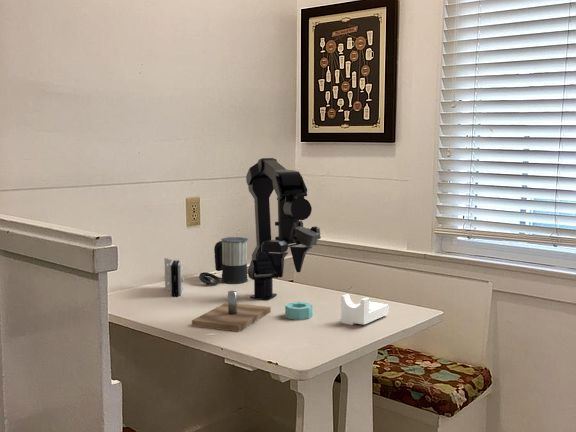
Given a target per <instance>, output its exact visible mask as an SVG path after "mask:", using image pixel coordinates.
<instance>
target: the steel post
mask: <svg viewBox="0 0 576 432" xmlns="http://www.w3.org/2000/svg"><path fill="white" fill-rule="evenodd" d="M227 302H228V314H231V315H233V314H237V303H238V292H237V291H236V290H229V291H227Z"/></svg>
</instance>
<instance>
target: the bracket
mask: <svg viewBox="0 0 576 432" xmlns="http://www.w3.org/2000/svg"><path fill="white" fill-rule="evenodd" d="M340 298H341V300H340V301H341V304H340V308H341V309H340V310H341V311H340V312H341V313H340V319H341V320H340V323H341V324H346V325H350V326H353V325H355V324H358V325H366V324H369V323H371V322H373V321H376V320H377V319H378V320H379V319H381V318H382V317H385V316H387V315H389V304H386V303H385V304H384V303H381V302H374V301H370V298H369V297H364V298H361V299H360V302H359V303H357V304H355V303H354V302H353V301H352V300H351V296H350V294H348V293H347V294H344V295H341V297H340Z"/></svg>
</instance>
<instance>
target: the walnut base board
mask: <svg viewBox="0 0 576 432" xmlns="http://www.w3.org/2000/svg"><path fill="white" fill-rule="evenodd" d="M271 311H272V307H271V306H266V305H265V306H264V305H256V304H248V303H238V302H237V314H233V315H231V314H228V301H227V302H225V303H223V304H221V305H219V306H217V307H215V308H213V309H211V310H209V311H207V312H205V313H204V314H202V315H200V316H198V317H195V318H193V319H191V326H192V327H199V328H200V327H201V328H209V329H214V328H215V330H222V329H224V331H231V330H232V331H233V332H239V331H240V332H241V331H243V330H244V329H246V328H247V326H248V327H249V326H251V325H252V324H254V323H256V322H257V321H259V320H261V319H262V318H264V317H265V316H267V315H268V314H270V313H271ZM263 316H264V317H263ZM258 319H259V320H258ZM255 321H256V322H255ZM250 324H251V325H250Z"/></svg>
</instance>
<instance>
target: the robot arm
mask: <svg viewBox="0 0 576 432" xmlns="http://www.w3.org/2000/svg"><path fill="white" fill-rule="evenodd" d="M245 177H246V179H245V182H246V185H247V186H248V192H249V193H250V195H251V197H253V199H254V200H253V202H254V217H255V218H254V219H255V238H256V241H255V243H256V246H255V248H254V250H253V252H252V253H251V260H250V263H249V266H248V267H247V278H249V279H250V280H252V281H253V294H252V295H250V296H249V298H250V299H256V300H257V299H258V300H271V299H272V298H275V297H277V295H278V294H277V293H275V292H274V291H273V290H274V289H273V286H274V285H273V284H274V283H273V279H278V278H283V276H284V267H285V265H284V264H285V258H286V256H288V254H289V252H288V250H289V249H290V254H291V256H292V261H293V265H294V268H295V272H296V273H301V271H302V268H303V264H304V260H305V257H306V255H307V253H308V252H309V250H311V249H313V246H316V245H317V243H318V240H320V239H321V238H322V237H321V230H320V227H318V226H317V225H315V226H311V228H308V227H304V222H303V221H305V220H306V219H308V218H310V216H311V214H312V212H313V211H312V210H313V209H312V208H313V207H312V205H311V203H310V201H309V200H308V199H306V198H305V197H308V188H307V186H306V183H305V181H304V177H303V176H302V175H301V173H300V171H298V170H294V169H287V168H285V167H284V166H283V165H282V164H280V163H279V162H278V161H277V159H276V158H274V157H263V158H262V157H261V158H259V159H258V161H257V162H256V163H255V164H254V165H252V166H251V167H249V169H248V171H247V173H246V176H245ZM273 192H275V194H276V196H277V198H276V200H277V221H275V222H274V226H275V227H276V226H277V229H278V231H277V233H278V234H277V235H278V236H275V239H272V229H271V228H272V227H271V208H270V206H271V205H270V198H271V195H272V193H273Z"/></svg>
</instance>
